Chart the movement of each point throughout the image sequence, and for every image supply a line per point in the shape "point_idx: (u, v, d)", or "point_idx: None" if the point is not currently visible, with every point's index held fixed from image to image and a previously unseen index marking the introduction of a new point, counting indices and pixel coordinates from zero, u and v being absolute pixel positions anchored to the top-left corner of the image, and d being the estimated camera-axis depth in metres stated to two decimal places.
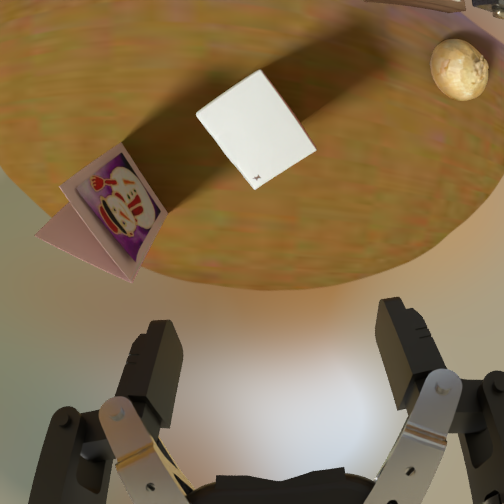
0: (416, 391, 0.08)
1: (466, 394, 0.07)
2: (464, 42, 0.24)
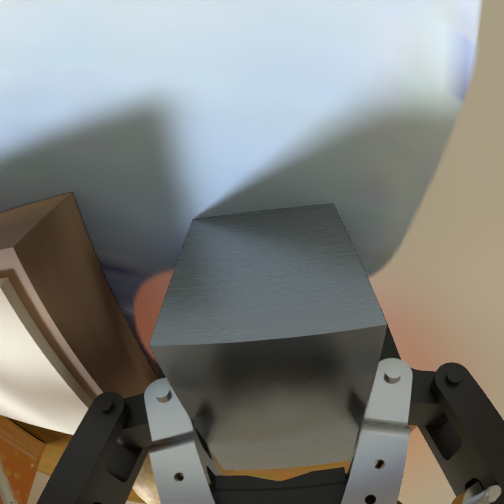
0: None
1: (419, 385, 0.08)
2: None
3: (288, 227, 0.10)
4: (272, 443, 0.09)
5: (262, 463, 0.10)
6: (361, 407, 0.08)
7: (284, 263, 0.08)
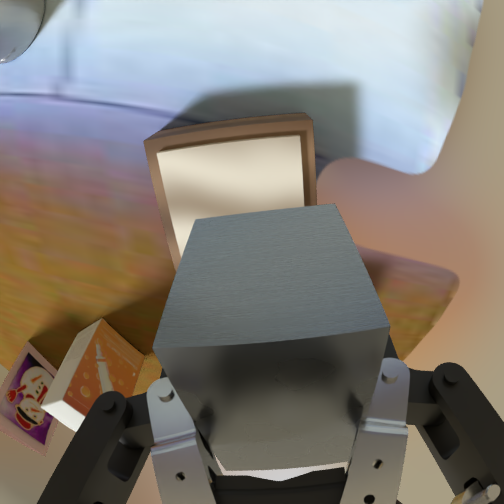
0: None
1: (416, 385, 0.08)
2: None
3: (291, 228, 0.10)
4: (274, 444, 0.09)
5: (264, 464, 0.10)
6: None
7: (287, 265, 0.08)
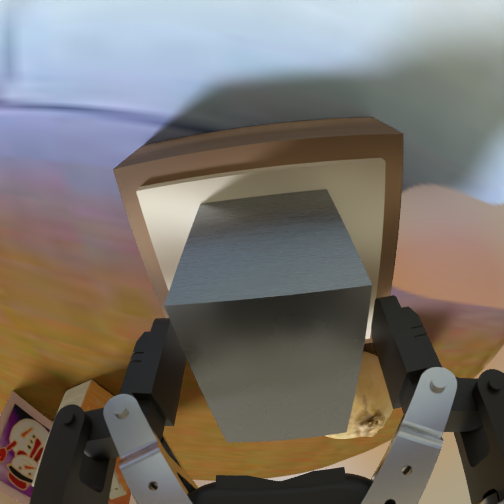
0: (411, 389, 0.08)
1: (461, 392, 0.07)
2: (358, 386, 0.20)
3: (286, 209, 0.11)
4: (272, 409, 0.10)
5: (263, 434, 0.11)
6: (354, 371, 0.09)
7: (282, 238, 0.10)
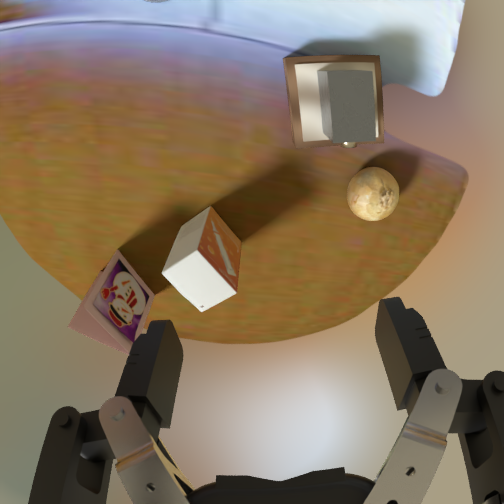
0: (416, 391, 0.08)
1: (466, 394, 0.07)
2: (377, 174, 0.41)
3: None
4: (350, 117, 0.31)
5: (347, 136, 0.32)
6: (373, 101, 0.30)
7: (348, 70, 0.31)
